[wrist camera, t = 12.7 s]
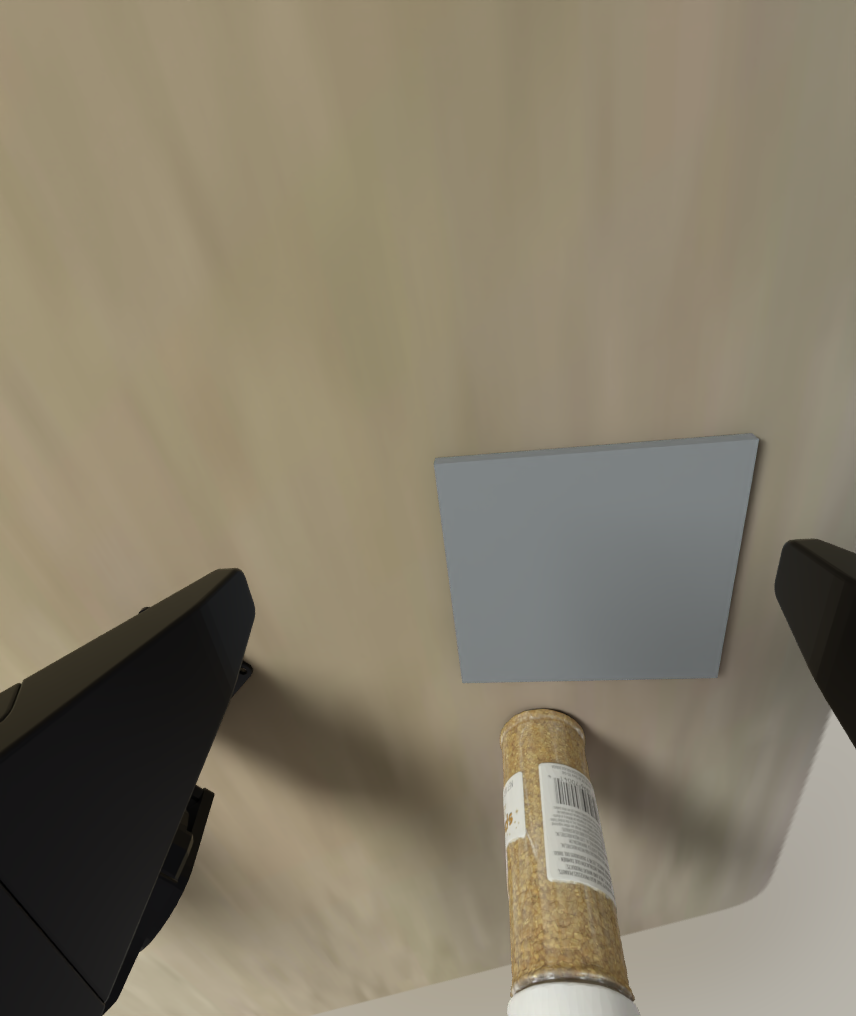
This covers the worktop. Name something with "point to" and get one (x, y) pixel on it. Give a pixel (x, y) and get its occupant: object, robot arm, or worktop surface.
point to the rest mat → (595, 558)
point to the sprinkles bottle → (558, 876)
